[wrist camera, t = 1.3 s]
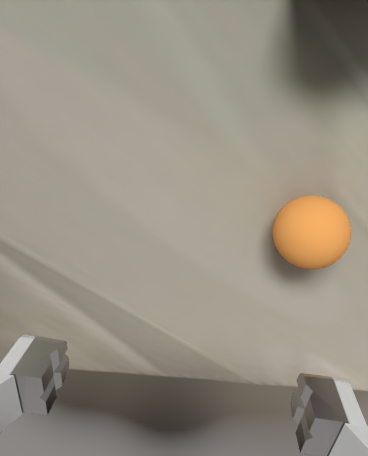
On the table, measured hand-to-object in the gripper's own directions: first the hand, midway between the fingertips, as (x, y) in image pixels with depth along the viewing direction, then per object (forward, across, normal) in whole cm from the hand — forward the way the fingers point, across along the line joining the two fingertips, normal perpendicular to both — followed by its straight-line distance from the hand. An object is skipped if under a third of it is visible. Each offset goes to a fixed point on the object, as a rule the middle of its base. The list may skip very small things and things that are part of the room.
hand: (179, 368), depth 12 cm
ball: (+14, -8, +1) cm, 17 cm away
